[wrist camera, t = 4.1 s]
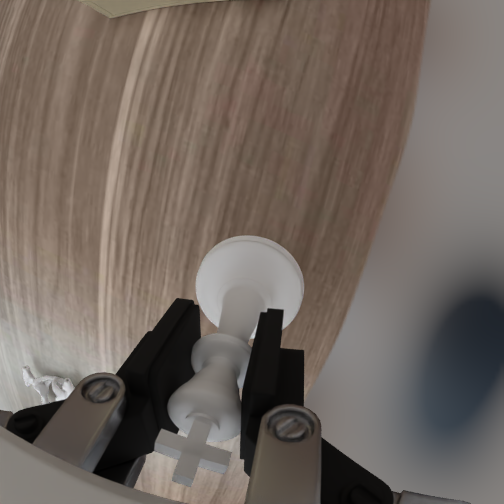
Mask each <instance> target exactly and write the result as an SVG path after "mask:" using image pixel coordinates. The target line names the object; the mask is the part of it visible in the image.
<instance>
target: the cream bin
mask: <svg viewBox="0 0 504 504" xmlns="http://www.w3.org/2000/svg"><path fill="white" fill-rule="evenodd" d="M78 1H80V2H82V3H84V4H85V5H87V6H89V7H91V8H93V9H94V10H96V11H98V12H100V13H101V14H103V15H105V16H107V17H108V18H110V19H111V18H115V17H119V16H123V15H127V14H132V13H137V12H142V11H147V10H152V9H158V8H163V7H170V6H177V5H184V4H192V3H202V2H213V1H227V0H78Z"/></svg>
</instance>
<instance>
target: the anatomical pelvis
mask: <svg viewBox="0 0 504 504" xmlns="http://www.w3.org/2000/svg"><path fill="white" fill-rule="evenodd" d="M22 370H23V380H24V382H25V384H26V385H27V386H28V387H29V386H30V383H31V384H32V385H33V388H34V389H36V390H37V392H38V393H39V395H40V396H42V397H41V400H42V401H41V402H42V404H48V403H50V402H49V399H48V393H49V389H48V388H49V386H50V384H51V382H52V381H53V382H52V389H53V391H54V393H55V394H56V395H57V397H56V398H55V400H56V401H60V400H64V399H67V398H68V396H69V395H70V394H71V392H72V391H73V390H74V389H75V388H74V386H73V385H72V382H71V380H70V378H65V379H63V378H61V377H57V376H48V375H45V376H43V377H39V378H36V379H35V378H34V376H33V374H32V373H31V370H30V367H29V366H24V367H23V368H22ZM42 380H46V381H44V382H43V381H42ZM56 382H57V383H59V384H61V385H62V390H60V388H59V387H58V386H57V385H56ZM42 404H41V405H42Z"/></svg>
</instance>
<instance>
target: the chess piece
mask: <svg viewBox="0 0 504 504" xmlns="http://www.w3.org/2000/svg"><path fill="white" fill-rule="evenodd" d="M196 295H197V299H198V302H199V305H200V307H201V309H202V311H203V312H204V314H205V315H206V316H207V318H208V319H209V320H210V321H211V322H212V323H213V324H214V325H216V326H217V327H218V331H217V333H214V334H209V335H206V336H204V337H202V338H200V339H199V340H198V341H197V342H196V343H195V344H194V346H193V348H192V355H191V365H192V368H193V370H194V372H195V373H196V374H195V375H194V376H193V378H192V379H190V380H189V381H188V382H186V383H185V384H183V385H182V386H181V387H179V388H178V389H177V390H176V391H175V392H174V393H173V394H172V395H171V397H170V398H169V401H168V404H167V410H168V414H169V416H170V418H171V420H172V421H173V423H174V424H175V425H176V426H177V427H178V428H179V429H180V430H181V431H183V432H184V433H186V434H187V435H188V437H187V438H186V437H183V436H180V435H177V434H175V433H172V432H169V431H167V430H164V429H162V428H161V430H160V433H159V435H158V437H157V439H156V441H155V447H154V451H156V452H158V453H161V454H164V455H166V456H169V457H172V458H174V459H177V460H178V463H177V466H176V468H175V471H174V474H173V478H172V481H174V482H177V483H180V484H183V485H186V486H189V487H191V485H192V483H193V480H194V477H195V474H196V471H197V468H198V467H201V468H204V469H207V470H211V471H214V472H218V473H221V474H224V473H225V471H226V470H227V468H228V465H229V461H230V457H231V453H232V452H230V451H226V450H223V449H220V448H216V447H213V446H210V445H207V444H206V441H208V442H222V441H226V440H230V439H232V438H234V437H236V436H237V435H238V434H239V433H240V432H241V400H240V396H239V388H242V387H243V384H244V380H245V376H246V371H247V367H248V363H249V359H250V355H251V351H252V348H251V347H250V346H249V345H248V344H247V343H248V341H249V339H250V338H255V334H256V329H257V325H258V321H259V316H260V312H267V309H268V308H273V309H284V315H283V326H282V329H284V328H285V327H286V326H288V325H289V324H290V323H291V322H292V320H293V319H294V318H295V316H296V315H297V313H298V311H299V308H300V306H301V302H302V299H303V295H304V280H303V275H302V272H301V270H300V267H299V265H298V263H297V262H296V260H295V259H294V258H293V256H292V255H291V254H290V253H289V252H288V251H287V250H286V249H285V248H283V247H282V246H281V245H279V244H277V243H276V242H274V241H271V240H269V239H266V238H263V237H259V236H251V235H243V236H236V237H232V238H229V239H226V240H224V241H222V242H220V243H219V244H217V245H216V246H214V247H213V248H212V249H211V250H210V251H209V252H208V253H207V255H206V256H205V257H204V259H203V261H202V263H201V265H200V268H199V271H198V274H197V278H196Z"/></svg>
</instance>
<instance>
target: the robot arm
mask: <svg viewBox="0 0 504 504" xmlns="http://www.w3.org/2000/svg"><path fill="white" fill-rule="evenodd" d="M283 315H284V309H273V308H268V309H267V312H260V316H259V321H258V325H257V329H256V334H255V338H254V342H253V346H252V351H251V355H250V359H249V363H248V367H247V371H246V376H245V380H244V384H243V390H242V400H241V438H240V459H244V471H245V472H246V474H247V475H248V476H249V477H250V479H249V484H248V489H247V494H246V498H245V503H244V504H471V503H468V502H465V501H460V500H453V499H446V498H440V497H435V496H429V495H423V494H419V493H414V492H409V491H405V490H403V491H402V492H401V493H397V492H393V491H391V489H390V487H389V486H388V485H386V484H385V483H384V482H383V481H382V480H380V479H379V478H378V477H376V476H374V475H373V474H372V473H370V472H369V471H367V470H366V469H364V468H363V467H361V466H360V465H359V464H357V463H356V462H354V461H353V460H351V459H350V458H349V457H347V456H346V455H345V454H343V453H342V452H340V451H339V450H337V449H336V448H335V447H334V446H332V445H331V444H330V443H328V442H327V441H326V440H324V439H323V438H322V437H321V423H320V420H319V418H318V417H317V415H316V414H315V413H313V412H312V411H311V410H310V409H307V408H305V407H304V350H296V349H284V348H280V345H281V336H282V326H283ZM200 338H201V331H200V309H199V305H195V304H194V301H193V300H188V299H180V298H177V299H176V300H175V301H174V302H173V304H172V305H171V306H170V308H169V309H168V310H167V312H166V313H165V314H164V316H163V317H162V318H161V320H160V321H159V322H158V324H157V325H156V326H155V328H154V329H153V330H152V331H148V332H147V333H146V334H145V336H144V337H143V338H142V340H141V341H140V342H139V344H138V345H137V346H136V348H135V349H134V350H133V352H132V353H131V354H130V356H129V357H128V358H127V360H126V361H125V362H124V364H123V365H122V366H121V368H120V369H119V370H118V372H117V373H116V375H114V374H112V373H105V372H103V373H95V374H92V375H89V376H87V377H85V378H84V379H83V380H82V381H80V382H79V384H78V385H77V386H76V387H75V389H74V390H73V391H72V392H71V394H70V395H69V396H68V398H67V399H64V400H60V401H56V402H52V403H48V404H43V405H39V406H35V407H30V408H26V409H23V410H20V411H18V412H16V413H15V414H13V413H12V412H11V411H3V410H0V504H187V503H183V502H179V501H175V500H171V499H167V498H163V497H160V496H156V495H153V494H149V493H146V492H143V491H140V490H136V489H133V488H134V485H135V483H136V481H137V479H138V476H139V474H140V472H141V470H142V467H143V465H144V463H145V460H146V454H149V453H152V452H153V451H154V447H155V441H156V439H157V437H158V435H159V433H160V430H161V428H162V429H164V430H167V431H169V432H172V433H175V434H177V433H178V431H179V428H178V427H177V426H176V425H175V424H174V423H173V421H172V420H171V418H170V416H169V414H168V410H167V404H168V401H169V398H170V397H171V395H172V394H173V393H174V392H175V391H176V390H177V389H178V388H179V387H181V386H182V385H183V384H185V383H186V382H188V381H189V380H190V379H192V378H193V376H194V375H195V374H196V373H195V372H194V370H193V368H192V365H191V355H192V348H193V346H194V344H195V343H196V342H197V341H198V340H199V339H200ZM155 452H156V451H155Z"/></svg>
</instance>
